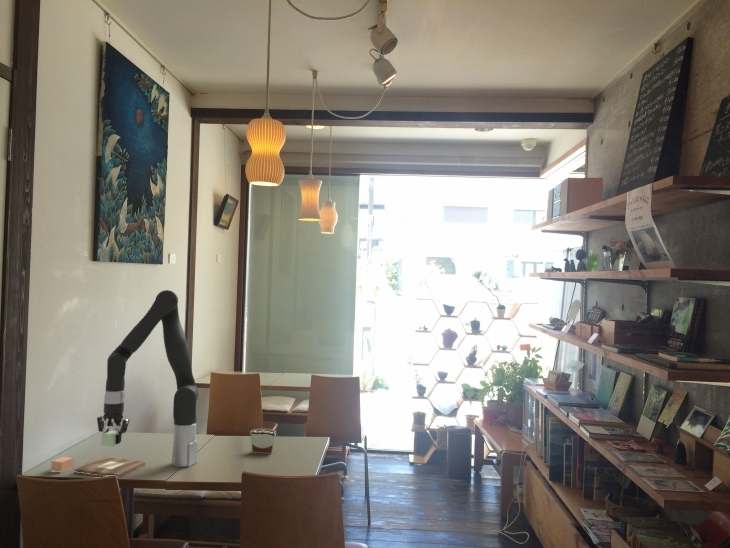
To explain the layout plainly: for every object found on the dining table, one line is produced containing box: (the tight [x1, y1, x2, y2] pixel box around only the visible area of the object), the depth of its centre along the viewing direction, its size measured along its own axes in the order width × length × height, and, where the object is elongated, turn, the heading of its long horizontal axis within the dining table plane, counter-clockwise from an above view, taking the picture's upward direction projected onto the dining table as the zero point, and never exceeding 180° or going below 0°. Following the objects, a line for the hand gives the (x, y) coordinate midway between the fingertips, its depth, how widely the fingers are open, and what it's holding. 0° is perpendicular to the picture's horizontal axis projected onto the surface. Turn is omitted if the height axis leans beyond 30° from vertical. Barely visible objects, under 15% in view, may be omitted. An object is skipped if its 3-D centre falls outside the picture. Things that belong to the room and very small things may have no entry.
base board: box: [73, 456, 146, 478], centre depth 217 cm, size 20×17×2 cm
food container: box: [249, 427, 277, 455], centre depth 249 cm, size 12×6×10 cm, turn 84°
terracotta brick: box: [50, 456, 74, 471], centre depth 214 cm, size 5×6×4 cm
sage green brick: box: [100, 430, 123, 447], centre depth 217 cm, size 5×6×4 cm
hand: (111, 442), depth 217 cm, fingers closed on sage green brick, 5 cm apart
